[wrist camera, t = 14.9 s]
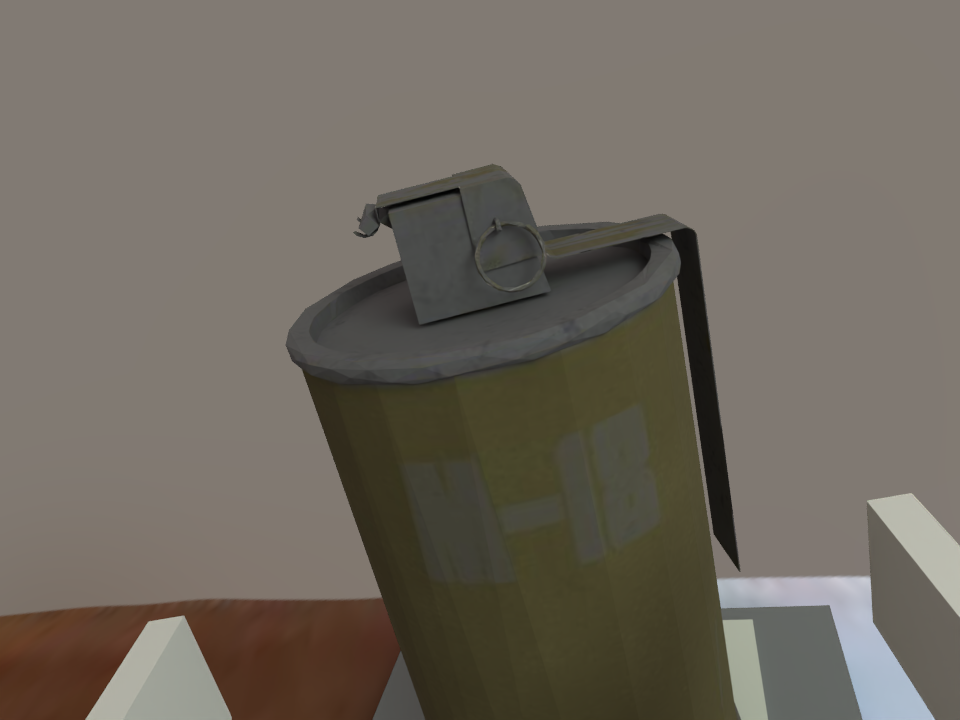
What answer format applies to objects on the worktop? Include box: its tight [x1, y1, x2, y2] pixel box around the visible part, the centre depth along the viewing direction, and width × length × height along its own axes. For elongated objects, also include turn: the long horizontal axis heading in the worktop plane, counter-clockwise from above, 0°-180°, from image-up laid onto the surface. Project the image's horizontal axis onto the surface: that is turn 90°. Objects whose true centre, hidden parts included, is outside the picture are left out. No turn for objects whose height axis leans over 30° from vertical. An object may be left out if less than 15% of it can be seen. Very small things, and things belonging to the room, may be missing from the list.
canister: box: [286, 164, 741, 720], centre depth 23 cm, size 11×10×20 cm
